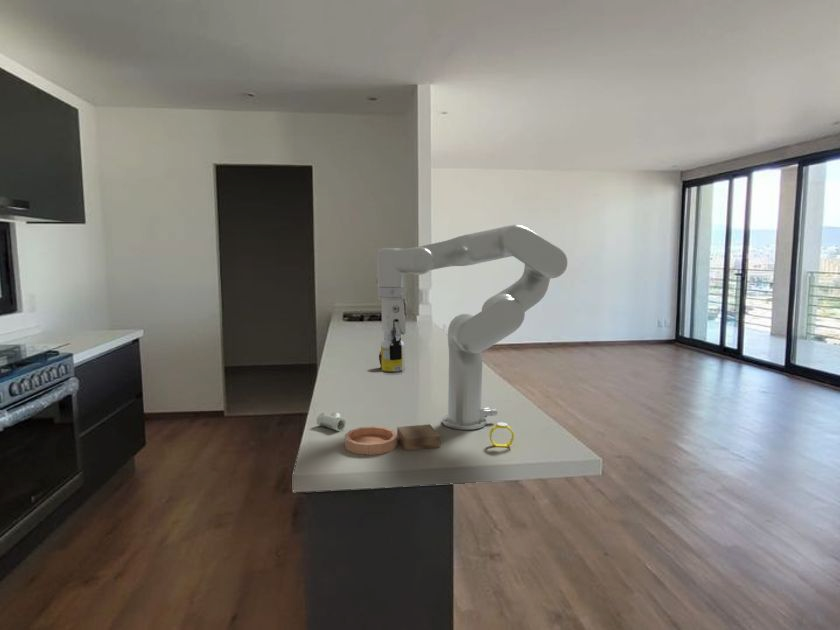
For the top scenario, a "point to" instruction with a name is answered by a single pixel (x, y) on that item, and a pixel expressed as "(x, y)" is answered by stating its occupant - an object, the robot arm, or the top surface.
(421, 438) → the walnut stand
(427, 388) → the top surface
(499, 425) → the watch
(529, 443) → the top surface
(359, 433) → the ring dish
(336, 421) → the pipe fitting
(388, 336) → the pill bottle
